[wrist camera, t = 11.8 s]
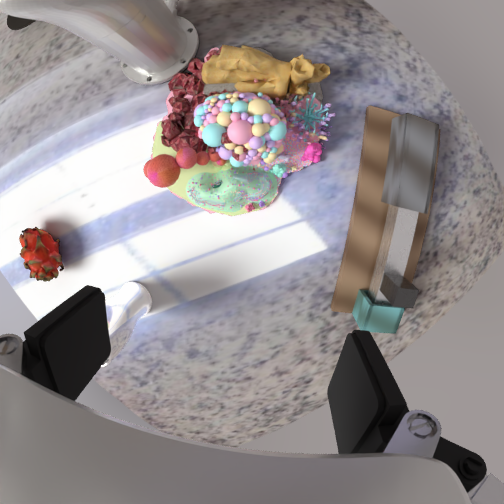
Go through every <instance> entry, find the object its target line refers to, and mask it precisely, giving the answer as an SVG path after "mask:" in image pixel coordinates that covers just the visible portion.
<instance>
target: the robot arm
mask: <svg viewBox="0 0 504 504" xmlns="http://www.w3.org/2000/svg"><path fill="white" fill-rule="evenodd" d="M178 1H179V0H166V2H164V1H163V0H0V12H2V13H5V14H8V15H10V16H14V17H19V18H25V19H32V20H39V21H43V22H47V23H51V24H54V25H57V26H59V27H61V28H64V29H66V30H68V31H70V32H72V33H74V34H76V35H77V36H79V37H81V38H83V39H85V40H86V41H88V42H90V43H92V44H93V45H95V46H97V47H98V48H100V49H102V50H103V51H105V52H107V53H108V54H110V55H112V56H113V57H115V58H117V59H118V60H120V65H121V68H122V71H123V72H124V74H125V75H126V76H127V77H128V78H129V79H130V80H132V81H134V82H136V83H138V84H142V85H156V84H161V83H164V82H167V81H169V80H171V79H173V78H174V77H175V76H176V75H177V74H178V73H182V72H183V71H184V70H185V69H186V68H187V67H188V66H189V63H190V62H191V60H192V59H193V58H194V57H195V55H196V53H197V50H198V46H199V37H198V33H197V31H196V29H195V27H194V25H193V24H192V23H191V22H190V21H189V20H187V19H185V18H183V17H180V16H177V9H176V5H177V4H178ZM184 62H185V63H184ZM151 79H152V80H151ZM150 80H151V81H150ZM24 335H25V338H26V340H25V341H24V342H23V341H22V339H21V338H20V337H19V336H17V335H14V334H5V335H1V336H0V504H504V483H502V482H501V481H500V480H499V479H498V478H496V477H495V476H494V475H493V474H491V473H490V474H489V475H488V476H487V475H486V470H487V469H486V464H485V462H484V460H483V459H482V458H481V457H480V456H479V455H478V454H476V453H474V452H471V451H469V450H467V449H465V448H463V447H461V446H459V445H456V444H455V443H452V442H450V441H448V440H446V439H444V438H442V437H440V435H441V429H442V428H441V425H440V422H439V421H438V419H437V418H436V417H435V416H434V415H432V414H430V413H429V412H426V411H423V410H413V411H410V412H409V410H408V407H407V404H406V402H405V399H404V397H403V395H402V393H401V391H400V389H399V387H398V385H397V383H396V381H395V379H394V377H393V375H392V373H391V371H390V369H389V368H388V366H387V363H386V361H385V359H384V358H383V356H382V354H381V352H380V350H379V348H378V346H377V344H376V342H375V341H374V339H373V337H372V335H371V333H370V332H369V331H365V330H354V331H353V332H352V333H349V334H348V335H347V337H346V340H345V343H344V346H343V349H342V352H341V354H340V357H339V360H338V363H337V365H336V368H335V371H334V373H333V376H332V379H331V381H330V384H329V386H328V399H329V404H330V409H331V414H332V419H333V424H334V429H335V435H336V440H337V446H338V452H339V454H304V453H283V452H270V451H259V450H251V449H242V448H236V447H229V446H223V445H217V444H211V443H206V442H201V441H196V440H191V439H187V438H183V437H178V436H174V435H170V434H166V433H163V432H159V431H155V430H152V429H149V428H145V427H142V426H138V425H135V424H132V423H129V422H126V421H124V420H121V419H118V418H115V417H112V416H109V415H107V414H104V413H101V412H99V411H96V410H94V409H91V408H89V407H87V406H84V405H82V404H79V403H77V402H75V400H76V399H77V397H78V396H79V395H80V393H81V392H82V391H83V389H84V388H85V387H86V385H87V384H88V383H89V382H90V380H91V379H92V378H93V376H94V375H95V374H96V373H97V371H98V370H99V369H100V367H101V366H102V365H103V364H104V362H105V361H106V360H107V359H108V357H109V356H110V353H111V344H110V337H109V330H108V322H107V313H106V303H105V295H104V293H102V291H101V289H100V288H97V287H93V286H88V285H87V286H85V287H84V288H82V289H81V290H79V291H78V292H77V293H75V294H74V295H73V296H71V297H70V298H68V299H67V300H66V301H64V302H63V303H62V304H60V305H59V306H58V307H56V308H55V309H54V310H52V311H51V312H50V313H48V314H47V315H46V316H44V317H43V318H42V319H40V320H39V321H38V322H37V323H35V324H34V325H33V326H31V327H30V328H29V329H28V330H26V331H25V332H24Z"/></svg>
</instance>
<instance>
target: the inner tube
mask: <svg viewBox="0 0 504 504" xmlns="http://www.w3.org/2000/svg"><path fill="white" fill-rule="evenodd" d="M418 214H419V212H417V211H413V210H409V209H405V208H401V207H396V206H393V205H390V204H389V207H388V212H387V217H386V222H385V227H384V231H383V236H382V240H381V245H380V249H379V253H378V257H377V261H376V265H375V269H374V273H373V277H372V280H371V284H370V287H369V291H368V294H367V297H368V298H369V299H370V301H371V302H372V304H381V305H391V306H393V307H404V308H413V306H414V304H415V301H416V298H417V295H418V292H419V290H418V289H417V288H416V287H415V286H414V285H413V284H412V283H410V282H409V281H408V280H407V279H406V278H405V277H404V272H405V268H406V265H407V261H408V257H409V254H410V250H411V246H412V241H413V237H414V233H415V228H416V224H417V219H418Z"/></svg>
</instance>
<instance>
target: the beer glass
mask: <svg viewBox="0 0 504 504" xmlns="http://www.w3.org/2000/svg"><path fill="white" fill-rule="evenodd" d="M105 303H106V313H107V322H108V330H109V337H110V344H111V353H110V356H109V357H108V359H107V360H106V361H105V362H104V364H103V365H102V366H101V367H100V368H103V367H106V366H108V365H109V364H110V362H111V361H112V360H113V359H114V358H115V357H116V356H117V355H118V354H119V353H120V352H121V351H122V349H123V348H124V347H125V345H126V344H127V343H128V341H129V339H130V337H131V335H132V333H133V331H134V329H135V326H136V324H137V322H138V320H139V319H140V318H141V317H142V316H144V315H145V314H147V313H148V312H149V310H150V309H151V306H152V298H151V295H150V293H149V291H148V290H147V289H146V288H145V287H144V286H143V285H141V284H140V283H137V282H127V283H125V284H124V285H123V286H122V287H121V289H120V290H119V292H118V293H117V294H116V295H115V296H113V297H111V298H109V299H107V300H105Z"/></svg>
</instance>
